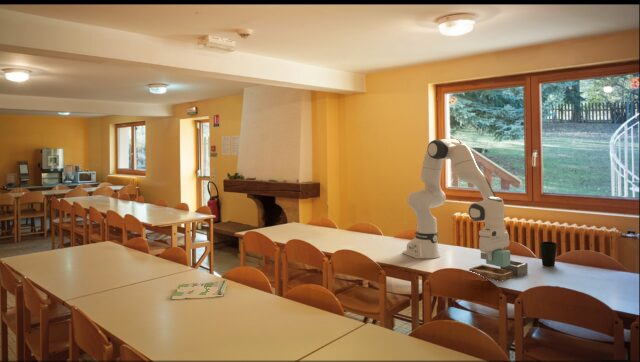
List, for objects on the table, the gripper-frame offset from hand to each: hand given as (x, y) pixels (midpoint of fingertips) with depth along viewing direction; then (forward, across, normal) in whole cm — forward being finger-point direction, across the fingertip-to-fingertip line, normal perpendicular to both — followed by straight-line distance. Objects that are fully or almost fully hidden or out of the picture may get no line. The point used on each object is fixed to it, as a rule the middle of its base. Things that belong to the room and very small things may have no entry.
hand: (495, 258), depth 206 cm
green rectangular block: (+3, 0, 0) cm, 3 cm away
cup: (+9, -36, +8) cm, 38 cm away
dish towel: (+9, +121, -73) cm, 142 cm away
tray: (+9, 0, -2) cm, 9 cm away
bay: (+9, -11, +3) cm, 14 cm away
